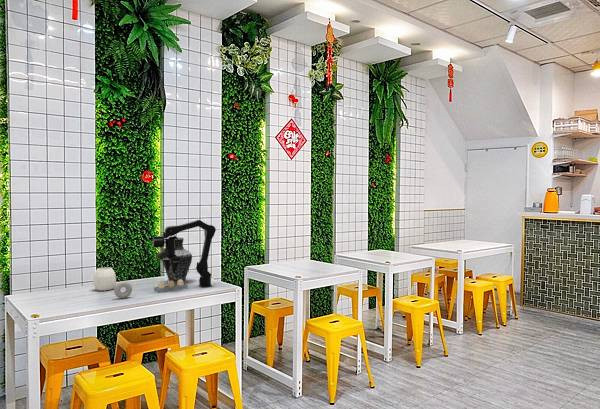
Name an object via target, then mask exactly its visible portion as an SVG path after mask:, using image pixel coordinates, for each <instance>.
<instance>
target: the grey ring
mask: <svg viewBox="0 0 600 409" xmlns="http://www.w3.org/2000/svg"><path fill="white" fill-rule="evenodd" d="M122 288H125V291H124V292H122V290H121V289H122ZM132 292H133V286H132V284H131V283H130V282H128V281H126V280H123V281H119V282H116V285H115V287H114V288H113V293H114V295H115V296H116V297H117V298H118V299H126V298H128V297H130V295H131V294H132Z"/></svg>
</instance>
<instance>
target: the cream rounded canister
mask: <svg viewBox="0 0 600 409" xmlns="http://www.w3.org/2000/svg"><path fill="white" fill-rule="evenodd" d="M92 279H93V286H94V289H95V290H96V291H101V292H103V291H104V292H107V291H111V290H114V288H115V286H116V284H117V276H116V272H115V270H114V269H113V268H112V267H108V266H106V267H98V268H96V270H95V272H94V275H93V278H92ZM106 290H107V291H106Z"/></svg>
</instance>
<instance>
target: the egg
mask: <svg viewBox="0 0 600 409" xmlns="http://www.w3.org/2000/svg"><path fill="white" fill-rule="evenodd" d="M174 284H175V283H174V282H173V281H169V280H168V282H167V285H168V287H174Z"/></svg>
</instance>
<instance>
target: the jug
mask: <svg viewBox="0 0 600 409" xmlns="http://www.w3.org/2000/svg"><path fill="white" fill-rule="evenodd" d="M176 237H177V236H176ZM177 238H178V239H175V248H176V250H175V255H176V256H178V257H180V258H181V261H180V263H179V264H178V266H177V268H176V270H175V273H173V272H172V265H171V264H170V268H169V271H167V270H166V267H165V264H164V262H163V261H162V259H161V260H160V261H161V262H162V265H163V267H164V270H165V273H166V276H167V279H168V282H169V281H173V282H174V284H177V281H178V280H180V279H182V280H183V281H184V282H185V281H186V278H187V276H188V272H189V269H190V267H191V264H192V261H193V254H192V253H191V251H189V250H187V249H186V248H184V245H183V243H184V241H185V240H184V237H177ZM159 248H160V252H163V251H164V246H163V247H159Z"/></svg>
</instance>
